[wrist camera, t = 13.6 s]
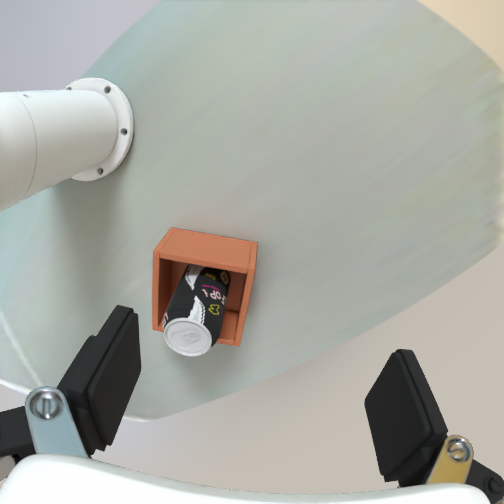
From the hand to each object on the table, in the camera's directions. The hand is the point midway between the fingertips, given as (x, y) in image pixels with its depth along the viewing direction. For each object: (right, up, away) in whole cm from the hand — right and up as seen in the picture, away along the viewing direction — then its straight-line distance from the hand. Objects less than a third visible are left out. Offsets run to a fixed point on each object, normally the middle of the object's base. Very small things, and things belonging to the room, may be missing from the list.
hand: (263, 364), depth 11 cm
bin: (-6, +1, +29) cm, 29 cm away
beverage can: (-6, +1, +28) cm, 29 cm away
